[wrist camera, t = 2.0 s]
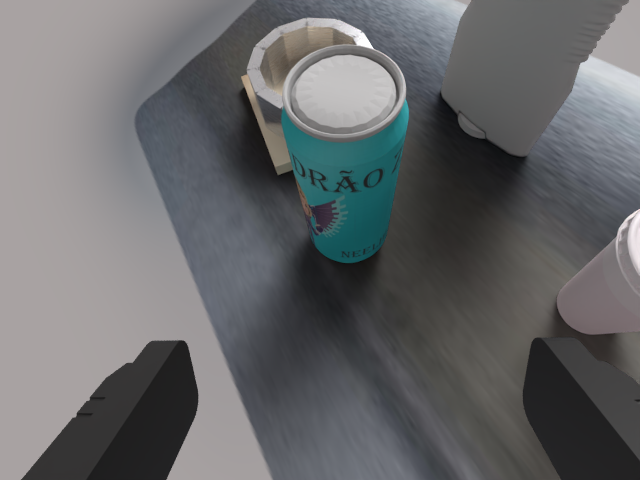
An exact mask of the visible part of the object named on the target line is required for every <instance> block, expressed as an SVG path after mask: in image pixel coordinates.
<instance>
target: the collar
mask: <svg viewBox="0 0 640 480" xmlns="http://www.w3.org/2000/svg"><path fill="white" fill-rule="evenodd" d="M335 45H360V46H365V47H369V48H372V49H373V47H372V46H371V44H370V43H369V41H368V39H367V38H366V36H365V34H364V33H362V31H361V30H358V29H356V28H354V27H352V26H350V25H348V24H346V23H344V22H342V21H340V20H337V21H336V19H322V18H307V21H306V19H305V18H304V19H301V20H298V21H295V22H292V23H289V24H286V25H282V26H279V27H278V29H276V28H275V29H274V30H273V31H272V32H271V33H269V34H268V35H267V36H266V37H265V38H264V39H262V40H261V41H260V42H259V43H258V44H257V45H255V46H256V47H254V49H253V52H252V55H251V58H250V61H249V64H248V67H247V73H248V76H249V79H250V82H251V85H252V88H253V92H254V95H255V98H256V101H257V104H258V107H259V110H260V112H261V115H262V117H263V120H264V123H265V125H266V127H267V129H269V130H270V131H272V132H273V133H275V134H276V135H278V136H279V137H281V138H282V139H284V140H285V137H284V133H283V129H282V124H281V115H282V109H283V106H284V105H283V101H282V96H281V95H279V94H278V93H276V92H275V91H274V88H275V86H276V85H277V84H278V83H280V82H281V81H282V80H283V79H284V78H285V77H286V76H287V75H288V74H289V72H290V71H291V69H292V68H293V67H294V66H295V65H296V64H297V63H298V62H299V61H300V60H301V59H303V58H304V57H306V56H307V55H309V54H311V53H313V52H315V51H317V50H320V49H323V48H326V47H330V46H335Z"/></svg>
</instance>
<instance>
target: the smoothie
mask: <svg viewBox="0 0 640 480" xmlns="http://www.w3.org/2000/svg"><path fill="white" fill-rule="evenodd" d="M557 308H558V311H559V313H560V315H561V317H562V318H563V320H564V321H565V322H566V323H567V324H568V325H569V326H570V327H572V328H573V329H575V330H577V331H579V332H581V333H585V334H590V335H596V334H609V333H622V332H635V331H640V209H639V210H637V211H636V212H634V213H633V214H631V215H630V216H628V217H627V218H626V220H625V221H624V222H623V224H622V225H621V226H620V228H619V230H618V233H617V237H616V238H615V239H614V240H612V241H611V243H610V244H609V245H608V246H606V247H605V248H604V249H603V250H602V251H601V252H600V253H599V254H598V255H597V256H596V257H595V258H594V259H592V260H591V261H590V262H589V263H588V264H587V265H586V266H585V267H584V268H583V269H582V270H581V271H580V272H578V273H577V274H576V275H575V276H574V277H573V278H572V279H571V280H570V281H569V282H568V283H567V284H566V285H565V286H563V287H562V288H561V290H560V291H559V293H558V296H557Z"/></svg>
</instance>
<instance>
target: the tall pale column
mask: <svg viewBox="0 0 640 480" xmlns="http://www.w3.org/2000/svg"><path fill="white" fill-rule="evenodd" d="M628 2H629V0H471V2H470V4H469V5H468V7H467V9H466V10H465V12H464V14H463V15H462V17H461V19H460V22H459V25H458V29H457V33H456V36H455V40H454V44H453V47H452V51H451V54H450V58H449V62H448V66H447V69H446V73H445V77H444V80H443V84H442V87H441V91H440V92H441V96H442V99H443V100H444V101H445V102H446V103H447V105H448V106H449V107H450V108H451V109H452V110H453V111H454V112H455V114H456V115H457V116H458V122H459V125H460V127H461V128H462V129H463V130H464V131H465V132H466V133H468V134H469V135H471V136H473V137H477V138H483V139H485V140H487V141H489V142H490V143H492V144H493V145H495V146H496V147H498V148H499V149H501V150H502V151H504V152H506V153H507V154H509V155H511V156H515V157H519V158H521V157H526V156H527V155H528V154H529V152H530V150H531V149H532V148H533V146H534V145H535V143H536V142H537V140H538V139H539V137H540V136H541V134H542V133H543V132H544V130H545V129H546V128H547V126H548V125H549V123H550V122H551V120H552V119H553V117H554V116H555V114H556V113H557V112H558V110H559V109H560V107H561V106H562V104H563V103H564V101H565V100H566V99H567V97H568V96H569V94H570V93H571V91H572V88H573V85H574V82H575V78H576V75H577V72H578V69H579V65H580V63H581V62H585V61H586V60H587V59H588V57H589V54H591V53H592V51H593V49H594V48H596V46H597V41H599V40H600V39H601V36H602V35H604V34H605V32H606V30H607V29H609V28H610V23H612V22H613V21H614V20H615V14H617V13H619V12H620V11H621V10H622V6H623V5H625V4H627V3H628Z"/></svg>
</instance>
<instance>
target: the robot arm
mask: <svg viewBox="0 0 640 480" xmlns="http://www.w3.org/2000/svg"><path fill="white" fill-rule="evenodd" d="M523 404H524V409H525V413H526V416H527V418H528V421H529V423H530V424H531V426H532V428H533V430H534V432H535V433H536V435H537V437H538V439H539V441H540V442H541V444H542V446H543V448H544V449H545V451H546V453H547V455H548V457H549V458H550V460H551V462H552V464H553V466H554V467H555V469H556V471H557V473H558V475H559V476H560V478H561V480H640V385H639V384H638V383H637V382H636V381H635V380H634V379H633V378H631V377H630V376H628V375H626V374H625V373H623V372H622V371H620V370H618V369H617V368H615V367H614V366H612V365H610V364H609V363H607V362H606V361H598V360H597V359H596V358H595V357H594V356H593V355H592V354H591V353H590V352H589V351H588V350H587V349H586V348H585V347H584V346H583V344H582V343H581V342H580V341H579V340H577V339H576V338H573V337H550V338H535V339H534V340H533V341H532V344H531V348H530V354H529V359H528V365H527V371H526V377H525V382H524V388H523ZM197 406H198V389H197V384H196V380H195V375H194V371H193V366H192V362H191V357H190V353H189V349H188V346H187V344H186V342H185V341H182V340H179V341H151V342H149V343H148V344H147V345H146V347H145V348H144V349H143V350H142V352H141V353H140V354H139V355H138V357H137V358H136V359H135V361H134V362H133V363H126V364H125V365H124V366H122V367H121V368H119V369H118V370H117V371H115V372H114V373H113V374H111V375H110V376H108V377H107V378H106V379H105V380H104V381H103V382H102V384H101V385H100V386H99V387H98V388H97V389H96V391H95V392H94V393H93V394H92V395H91V397H90V401H86V403H85V404H84V405H83V406H82V407H81V409H80V410H79V411H78V412H77V416H76V418H72V419H71V421H70V422H69V423H68V424H67V425H66V427H65V428H64V429H63V430H62V432H61V433H60V434H59V435H58V436H57V438H56V439H55V440H54V441H53V442H52V444H51V445H50V446H49V447H48V448H47V450H46V451H45V452H44V453H43V454H42V455H41V457H40V458H39V459H38V460H37V462H36V463H35V464H34V465H33V466H32V467H31V469H30V470H29V471H28V472H27V473H26V475H25V476H24V477H23V478H22V479H21V480H166V479H167V477H168V475H169V472H170V470H171V468H172V466H173V464H174V461H175V459H176V457H177V455H178V453H179V451H180V448H181V446H182V444H183V442H184V440H185V437H186V436H187V433H188V431H189V429H190V426H191V425H192V422H193V420H194V418H195V415H196V411H197Z"/></svg>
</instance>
